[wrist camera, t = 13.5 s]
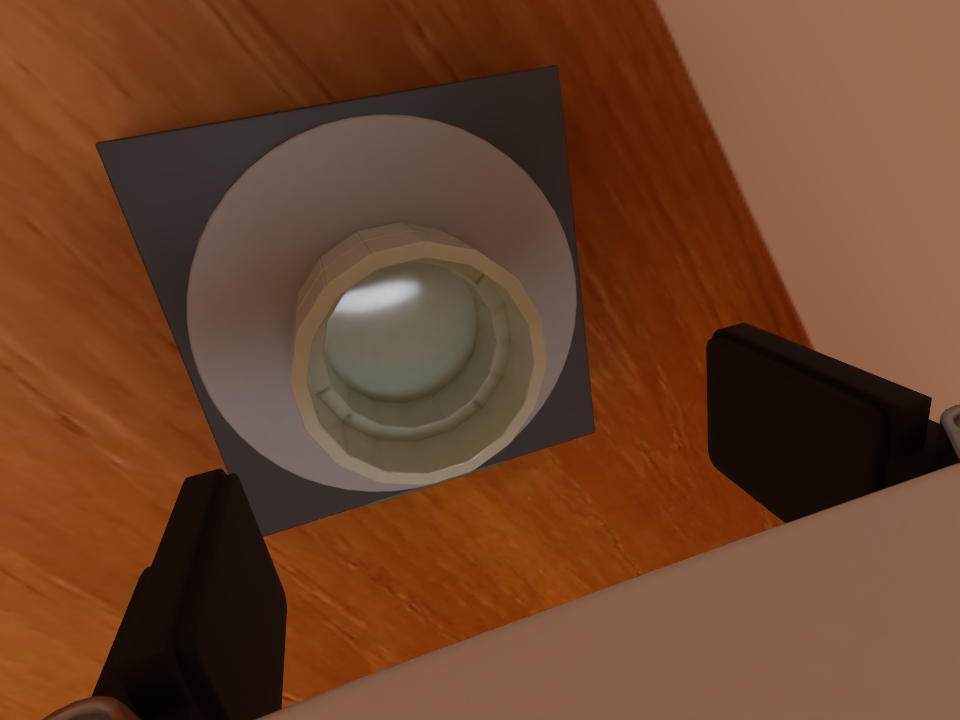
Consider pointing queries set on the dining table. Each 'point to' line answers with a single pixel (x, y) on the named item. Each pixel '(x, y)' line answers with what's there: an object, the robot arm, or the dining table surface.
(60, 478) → the dining table surface
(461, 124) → the scale
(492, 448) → the bowl
